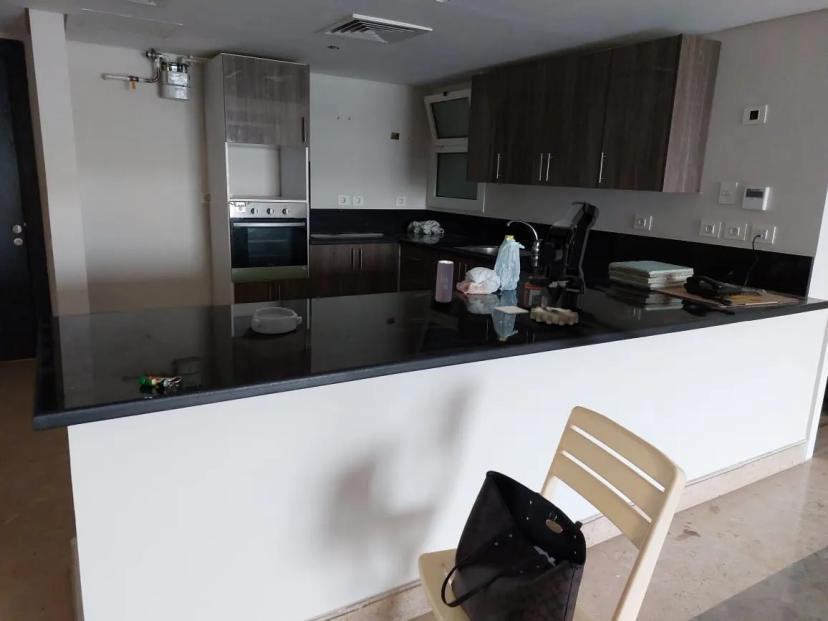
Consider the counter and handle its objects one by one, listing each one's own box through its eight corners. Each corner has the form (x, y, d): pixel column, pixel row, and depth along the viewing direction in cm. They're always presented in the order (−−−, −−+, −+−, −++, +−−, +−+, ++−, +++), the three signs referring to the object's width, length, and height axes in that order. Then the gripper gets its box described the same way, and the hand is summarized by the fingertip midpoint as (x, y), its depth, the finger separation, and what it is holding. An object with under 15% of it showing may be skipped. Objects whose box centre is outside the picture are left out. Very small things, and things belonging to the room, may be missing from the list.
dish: (255, 337, 159) (255, 319, 158) (244, 324, 171) (244, 308, 170) (305, 333, 166) (305, 316, 165) (292, 321, 178) (292, 305, 177)
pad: (512, 307, 214) (513, 305, 214) (528, 312, 206) (528, 311, 206) (493, 308, 210) (493, 307, 210) (508, 314, 202) (508, 313, 202)
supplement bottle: (521, 304, 219) (524, 275, 216) (536, 305, 219) (539, 276, 217) (525, 308, 213) (528, 278, 210) (541, 309, 214) (544, 279, 211)
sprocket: (555, 312, 208) (557, 294, 206) (587, 323, 194) (590, 304, 193) (520, 315, 200) (522, 296, 199) (551, 326, 187) (554, 307, 185)
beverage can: (451, 299, 221) (454, 261, 217) (450, 303, 215) (453, 263, 212) (435, 298, 221) (438, 260, 218) (434, 301, 215) (437, 262, 212)
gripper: (561, 257, 210) (557, 298, 213) (522, 258, 201) (517, 301, 204) (584, 262, 200) (578, 305, 204) (543, 263, 191) (538, 308, 195)
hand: (553, 305), depth 202 cm, fingers closed
